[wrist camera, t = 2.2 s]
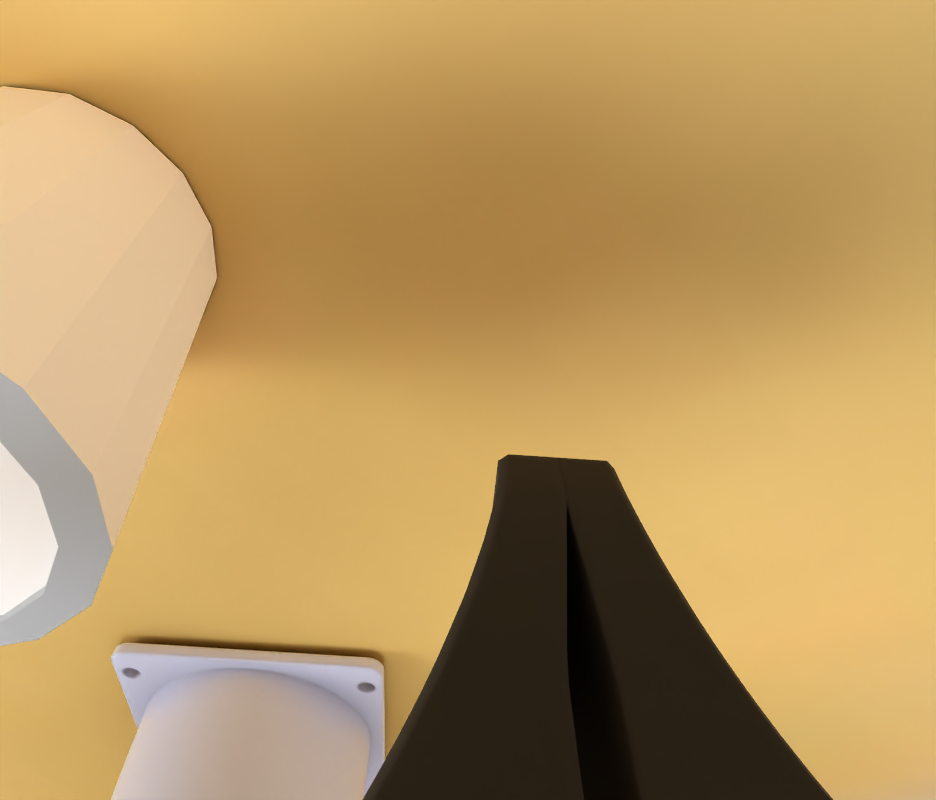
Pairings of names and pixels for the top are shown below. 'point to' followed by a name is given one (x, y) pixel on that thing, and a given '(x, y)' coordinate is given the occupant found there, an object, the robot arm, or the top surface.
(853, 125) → the top surface
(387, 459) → the top surface
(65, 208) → the beige short cylinder
